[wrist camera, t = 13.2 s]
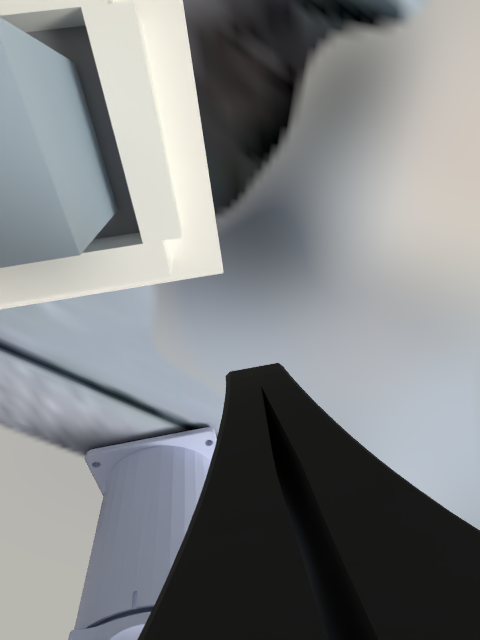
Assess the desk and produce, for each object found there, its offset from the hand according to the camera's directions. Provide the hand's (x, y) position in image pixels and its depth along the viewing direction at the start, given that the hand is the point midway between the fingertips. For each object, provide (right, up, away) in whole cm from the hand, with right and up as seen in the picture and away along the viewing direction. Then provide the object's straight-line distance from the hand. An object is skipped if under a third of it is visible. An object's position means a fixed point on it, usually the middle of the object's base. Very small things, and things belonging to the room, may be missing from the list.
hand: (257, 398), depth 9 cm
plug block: (-8, +8, +4) cm, 12 cm away
